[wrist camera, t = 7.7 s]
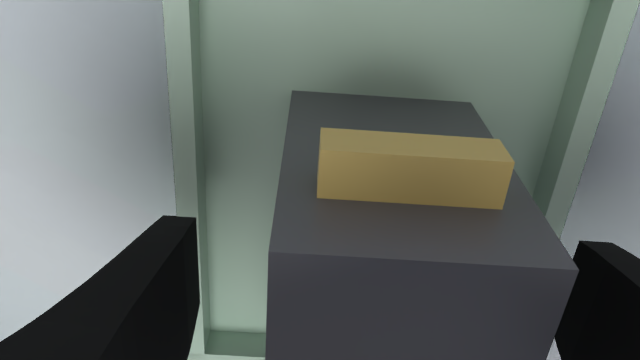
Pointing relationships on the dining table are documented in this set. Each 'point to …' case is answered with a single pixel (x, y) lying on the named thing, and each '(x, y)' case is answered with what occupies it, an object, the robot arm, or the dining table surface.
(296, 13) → the tray
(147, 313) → the robot arm
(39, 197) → the dining table surface
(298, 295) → the grey block with tab
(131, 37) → the dining table surface
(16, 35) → the dining table surface
